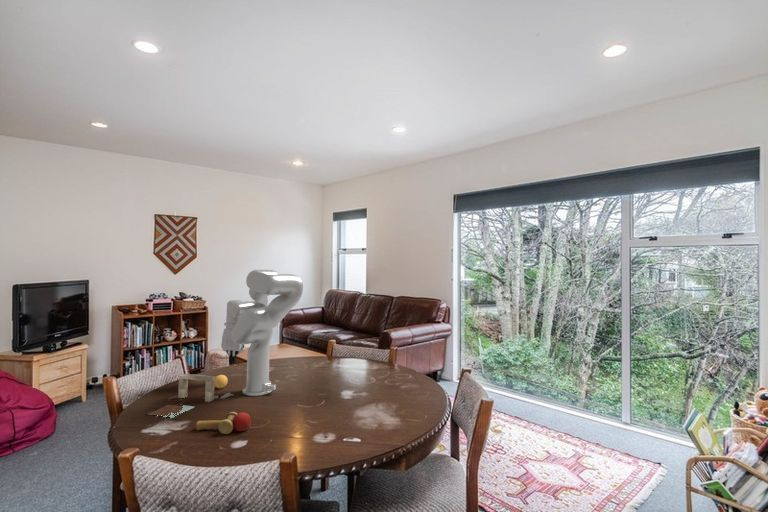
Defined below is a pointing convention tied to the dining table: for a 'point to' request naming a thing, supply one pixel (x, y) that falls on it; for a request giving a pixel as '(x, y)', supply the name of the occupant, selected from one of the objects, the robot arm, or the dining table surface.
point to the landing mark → (185, 408)
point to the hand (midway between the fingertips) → (232, 363)
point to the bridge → (184, 379)
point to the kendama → (227, 423)
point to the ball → (220, 381)
